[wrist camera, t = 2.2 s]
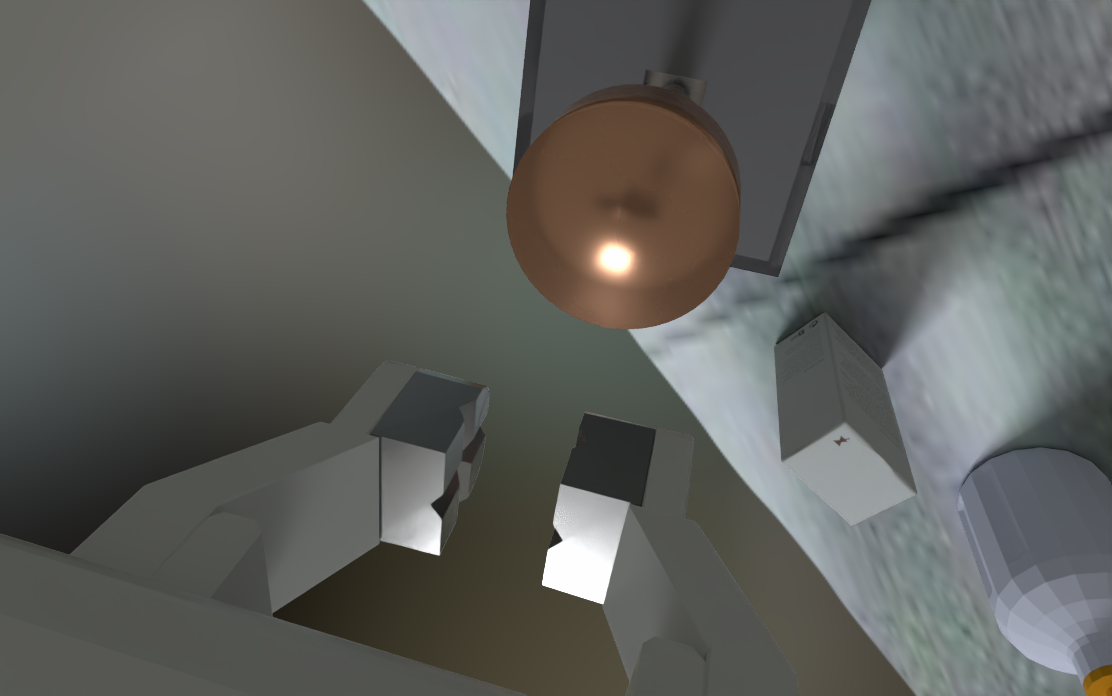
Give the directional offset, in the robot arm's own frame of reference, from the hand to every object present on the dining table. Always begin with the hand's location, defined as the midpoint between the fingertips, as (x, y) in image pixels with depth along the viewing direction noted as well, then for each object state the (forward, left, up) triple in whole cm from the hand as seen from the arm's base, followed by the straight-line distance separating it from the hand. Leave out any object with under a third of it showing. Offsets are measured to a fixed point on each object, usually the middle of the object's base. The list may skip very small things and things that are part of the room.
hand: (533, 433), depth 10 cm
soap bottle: (+24, +29, -35) cm, 52 cm away
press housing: (0, 0, -35) cm, 35 cm away
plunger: (0, 0, -23) cm, 23 cm away
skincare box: (+17, +13, -35) cm, 41 cm away
